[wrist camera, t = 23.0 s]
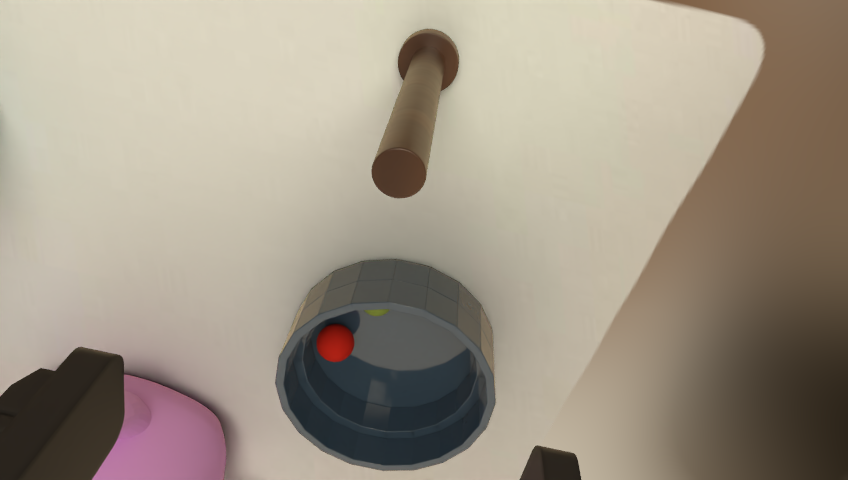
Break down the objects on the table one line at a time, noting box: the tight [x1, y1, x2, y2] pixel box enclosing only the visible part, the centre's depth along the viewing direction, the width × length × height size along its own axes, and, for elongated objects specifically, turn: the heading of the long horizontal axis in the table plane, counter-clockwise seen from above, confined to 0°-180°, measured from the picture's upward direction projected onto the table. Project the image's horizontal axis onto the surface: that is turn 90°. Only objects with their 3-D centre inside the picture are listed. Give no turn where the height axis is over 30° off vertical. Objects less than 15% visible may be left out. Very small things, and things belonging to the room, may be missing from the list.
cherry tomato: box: [316, 324, 354, 362], centre depth 47 cm, size 3×3×3 cm
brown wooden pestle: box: [372, 29, 459, 198], centre depth 31 cm, size 4×4×18 cm
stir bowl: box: [275, 259, 496, 471], centre depth 47 cm, size 15×15×6 cm
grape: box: [364, 309, 389, 316], centre depth 45 cm, size 2×2×2 cm
